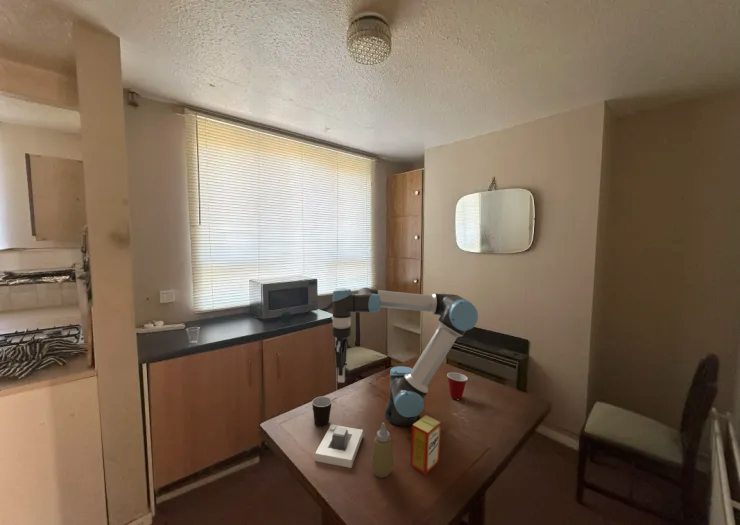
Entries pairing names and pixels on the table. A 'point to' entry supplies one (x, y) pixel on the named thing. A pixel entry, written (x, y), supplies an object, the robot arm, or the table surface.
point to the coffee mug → (321, 411)
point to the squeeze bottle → (382, 453)
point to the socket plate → (339, 456)
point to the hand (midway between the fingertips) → (341, 381)
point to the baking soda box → (425, 444)
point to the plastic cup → (456, 384)
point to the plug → (340, 438)
